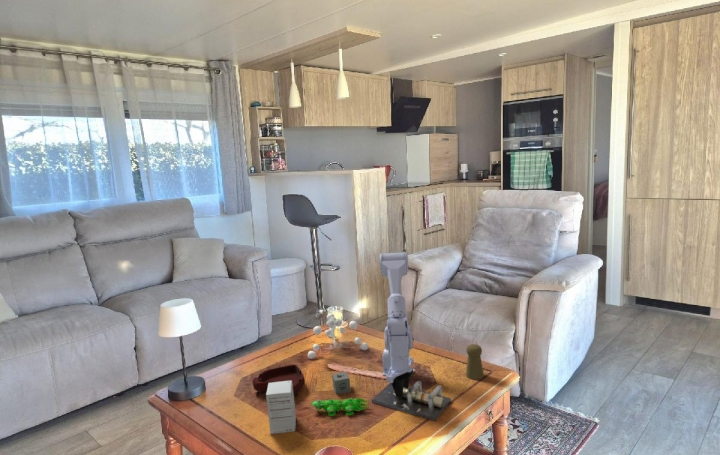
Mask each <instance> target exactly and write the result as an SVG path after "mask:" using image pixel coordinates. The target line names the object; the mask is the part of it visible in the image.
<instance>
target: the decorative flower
mask: <svg viewBox="0 0 720 455" xmlns="http://www.w3.org/2000/svg"><path fill="white" fill-rule="evenodd" d="M342 321H343V320H342V319H341V318H336V317H335V314H333V313H328V314H327V315H326V322H325V323H326V327H327V328H329V329H326V327H325V325H324V323H322V324H323V327H324V329H325V331H323V329H322V327H321V326H320V325H319V326H318V325H317V326H315V327H313V329H312V330H313V331H312V332H313V334H314V335H315V336H317V337H319V338H320V336H319V335H321V336H322V337H324V338H325V339H324V342H326V341H328V340H329V339H328V337H329V338H331V340H332V343H331V344H329V345H328V344H327V343H330V340H329V341H328V342H326V344H325V343H324V342H323V344H324V345H322V346H326V345H327V346H326V348H325V351H324V350H323V353H324V352H326V351H330V349H328V348H332V350H333V349H336V348H337V349H340V348H342V347H344V348H348V349H349V348H350V349H351V347H350V346H352V344H349V340H350V338H347V341H345V342H344V341H343V340H340V338H339V337H337V340H340V343H339V342H336V336H337V335H336V334H338V332H339V333H340V334H345V333H346V328H345V327H342V324H343V322H342ZM345 321H347V319H346V320H345ZM348 326H349V328H350V329H349V331H348V332H350V330H356V329H357V328H358V322H357V321H356V320H351V321H349V323H348ZM336 327H339V329H337V328H336ZM335 330H337V332H336V331H335ZM322 332H323V333H324V334H325V336H324V335H322ZM347 335H348V333H347V334H346V335H345V337H346V336H347ZM360 336H362V334H361V335H360ZM360 336H356V337H355V338H354V343H355V345H359V348H360V350H362V351H366V350H368V349H369V345H368V343H367V342H362V339H361V338H360ZM326 337H327V339H328V340H327V339H326ZM343 337H344V336H343ZM345 337H344V338H343V339H345ZM352 337H354V335H353V336H351V338H352ZM325 340H326V341H325ZM342 341H343V342H342ZM341 342H342V343H341ZM312 343H313V342H312V341H311V344H312ZM347 344H349V345H350V346H347ZM320 345H321V344H320V343H319V344H318V343H315V342H314V344H313V346H312V349H313V350H310V351H308V353H307V358H308V359H309V360H313V359H315V358H316V356H317V354H319V353H318V351H320V348H321V347H320ZM327 347H328V348H327ZM316 351H317V353H316Z"/></svg>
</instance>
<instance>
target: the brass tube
mask: <svg viewBox="0 0 720 455" xmlns="http://www.w3.org/2000/svg"><path fill="white" fill-rule="evenodd" d="M408 390H409V389H408V388H404V387H403V395H402V397H404V398H407V399H408V393H407V391H408ZM394 395H395V392H394ZM429 395H430V394H427V393H423V392H419V391H416V390H415V391H414V392H413V400H414V401H418V402H422V403H425V404H428V396H429ZM443 404H444V398H442V397H438V396H435V397H434V406H436V407H439V408H442V407H443Z"/></svg>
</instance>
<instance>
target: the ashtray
mask: <svg viewBox="0 0 720 455" xmlns="http://www.w3.org/2000/svg"><path fill="white" fill-rule="evenodd" d="M305 379H306V378H305V376H304V374H303V372H302V370H301V369H300V367H299V366H298V365H296V364H289V365H285V366H284V365H283V366H280V367H275V368H270V369H265V370H263V371H262V372H261V373H259V375H258V377H257V376H255V377H254V378H253V379H252V386H253V389H254V390H255V391H257V392H258V393H260V392H264V393H267V388H268V383H272V382H281V381H292V385H293V394H294V397H295V396H297V395H298V394H299V393H300V392H302V390H303V389H304V387H305V383H306V382H305Z"/></svg>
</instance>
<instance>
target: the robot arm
mask: <svg viewBox="0 0 720 455" xmlns="http://www.w3.org/2000/svg"><path fill="white" fill-rule="evenodd" d="M408 255H409V254H408V253H407V251H404V252H389V253H383V252H380V254H379V268H380V269H379V270H380V274H382V275H381V276H383V277H385V278H387V279H388V280H387V281H388V284H389V297H388V298H387V301H386V302H387V318H388V319H387V320H386V326H385V328H384V349H383V351H382V352H383V353H382V358H381V359H382V374H384V375H383V376H385V375H387V376H385V379H386V380H385V381H386V382H387V383H388V384H390V383H391V384H392V386H393V389H394V392H395V395H396V396H398V397H402V395H403V387H404V388H408V387H409V386H410V382H411V377H412V376H413V373H414V372H416V369H414V368H412V367H411V366H412V365H414V358H413V357H410V352H411V350H412V349H413V348H414V343H413V333H412V332H413V331H412V328H411V326H410V325H409V319H408V316H407V308H406V299H405V297H404V296H403V295H402V280H403V277H404V276H407V275H408V272H409V256H408ZM382 374H381V375H382ZM409 388H410V387H409Z"/></svg>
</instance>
